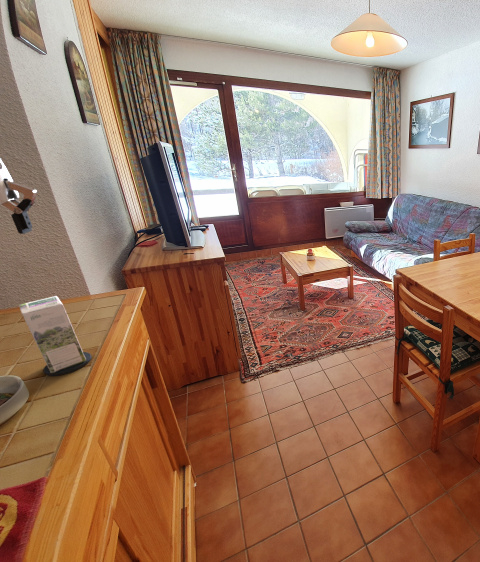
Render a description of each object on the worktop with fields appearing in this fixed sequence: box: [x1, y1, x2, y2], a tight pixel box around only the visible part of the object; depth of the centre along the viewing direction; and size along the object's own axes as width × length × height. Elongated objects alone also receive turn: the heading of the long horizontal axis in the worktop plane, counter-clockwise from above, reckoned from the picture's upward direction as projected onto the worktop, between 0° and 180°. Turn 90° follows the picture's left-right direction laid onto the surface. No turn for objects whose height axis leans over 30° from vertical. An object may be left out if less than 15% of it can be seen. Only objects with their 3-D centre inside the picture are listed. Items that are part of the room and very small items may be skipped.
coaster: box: [42, 351, 92, 377], centre depth 67 cm, size 8×8×1 cm
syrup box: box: [18, 295, 86, 373], centre depth 64 cm, size 6×6×14 cm
